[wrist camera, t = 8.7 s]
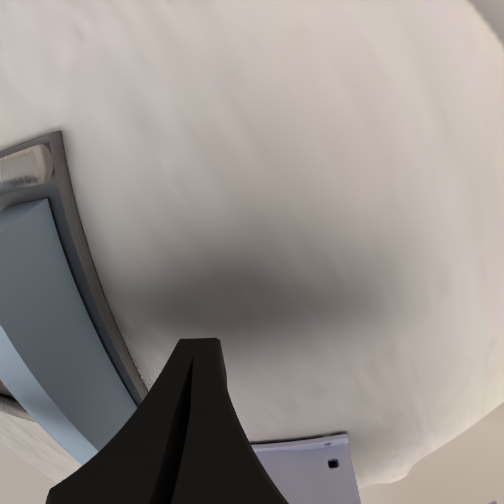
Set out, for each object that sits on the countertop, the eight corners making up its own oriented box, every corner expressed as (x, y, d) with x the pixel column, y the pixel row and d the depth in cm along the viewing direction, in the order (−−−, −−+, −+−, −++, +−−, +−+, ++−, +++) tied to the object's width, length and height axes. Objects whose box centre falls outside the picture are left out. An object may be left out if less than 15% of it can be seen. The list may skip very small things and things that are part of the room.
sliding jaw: (47, 197, 8) (-31, 260, 5) (142, 416, 14) (130, 480, 10) (0, 209, 8) (-71, 264, 5) (103, 411, 14) (86, 471, 10)
